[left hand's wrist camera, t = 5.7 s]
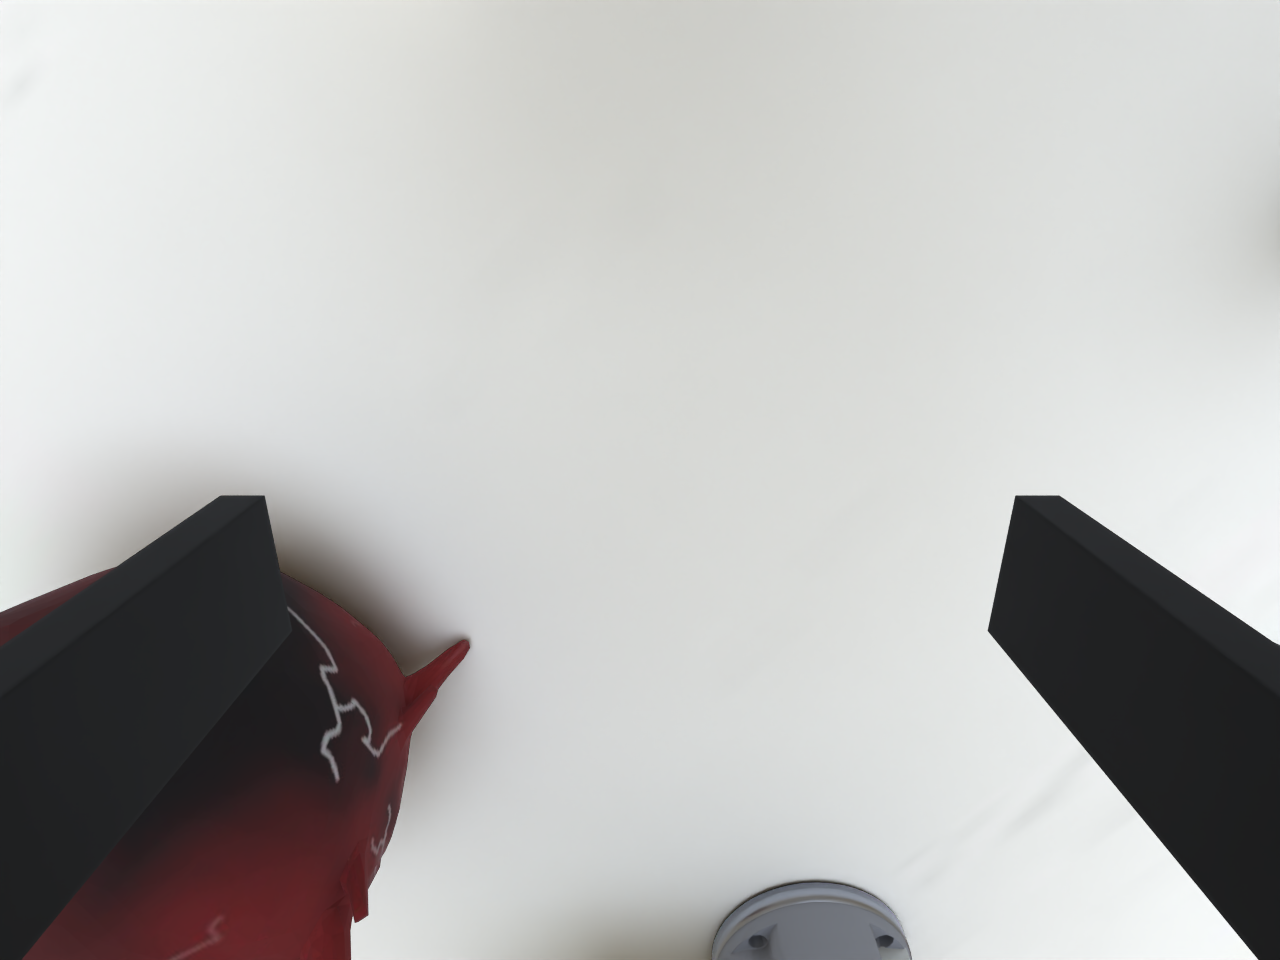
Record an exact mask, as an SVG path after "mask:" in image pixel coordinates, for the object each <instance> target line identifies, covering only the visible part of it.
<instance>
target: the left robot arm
mask: <svg viewBox="0 0 1280 960" xmlns="http://www.w3.org/2000/svg"><path fill="white" fill-rule="evenodd" d="M291 632H292V627H291V622H290V617H289V613H288V608H287V603H286V598H285V593H284V588H283V583H282V578H281V574H280V569H279V564H278V559H277V554H276V549H275V544H274V539H273V535H272V530H271V525H270V520H269V515H268V510H267V505H266V500H265V496H219V497H218V498H216V499H215V500H214V501H212V502H211V503H209V504H208V505H206V506H205V507H203V508H202V509H200V510H199V511H197V512H196V513H195V514H193V515H192V516H190V517H189V518H187V519H186V520H184V521H183V522H181V523H180V524H178V525H177V526H176V527H174V528H173V529H171V530H170V531H168V532H167V533H165V534H164V535H162V536H161V537H160V538H158V539H157V540H155V541H154V542H152V543H151V544H149V545H148V546H146V547H145V548H143V549H142V550H141V551H139V552H138V553H136V554H135V555H133V556H132V557H130V558H129V559H127V560H126V561H124V562H123V563H122V564H120V565H119V566H117V567H116V568H114V569H113V570H111V571H110V572H108V573H107V574H106V575H104V576H103V577H101V578H100V579H98V580H97V581H95V582H94V583H92V584H91V585H89V586H88V587H87V588H85V589H84V590H82V591H81V592H79V593H78V594H76V595H75V596H73V597H72V598H70V599H69V600H68V601H66V602H65V603H63V604H62V605H60V606H59V607H57V608H56V609H54V610H53V611H51V612H50V613H49V614H47V615H46V616H44V617H43V618H41V619H40V620H38V621H37V622H35V623H34V624H33V625H31V626H30V627H28V628H27V629H25V630H24V631H22V632H21V633H19V634H18V635H16V636H15V637H14V638H12V639H11V640H9V641H8V642H6V643H5V644H3V645H2V646H0V960H22V959H23V957H24V956H25V955H26V954H27V953H28V951H29V950H30V949H31V948H32V946H33V945H34V944H35V943H36V942H37V940H38V939H39V938H40V937H41V936H42V934H43V933H44V932H45V931H46V929H47V928H48V927H49V926H50V925H51V923H52V922H53V921H54V920H55V919H56V917H57V916H58V915H59V914H60V912H61V911H62V910H63V909H64V908H65V906H66V905H67V904H68V903H69V901H70V900H71V899H72V898H73V897H74V895H75V894H76V893H77V892H78V891H79V889H80V888H81V887H82V886H83V884H84V883H85V882H86V881H87V880H88V878H89V877H90V876H91V875H92V874H93V872H94V871H95V870H96V869H97V867H98V866H99V865H100V864H101V863H102V861H103V860H104V859H105V858H106V857H107V855H108V854H109V853H110V852H111V850H112V849H113V848H114V847H115V846H116V844H117V843H118V842H119V841H120V840H121V838H122V837H123V836H124V835H125V833H126V832H127V831H128V830H129V829H130V827H131V826H132V825H133V824H134V823H135V821H136V820H137V819H138V818H139V816H140V815H141V814H142V813H143V812H144V810H145V809H146V808H147V807H148V806H149V804H150V803H151V802H152V801H153V799H154V798H155V797H156V796H157V795H158V793H159V792H160V791H161V790H162V788H163V787H164V786H165V785H166V784H167V782H168V781H169V780H170V779H171V778H172V776H173V775H174V774H175V773H176V771H177V770H178V769H179V768H180V767H181V765H182V764H183V763H184V762H185V761H186V759H187V758H188V757H189V756H190V754H191V753H192V752H193V751H194V750H195V748H196V747H197V746H198V745H199V744H200V742H201V741H202V740H203V739H204V737H205V736H206V735H207V734H208V733H209V731H210V730H211V729H212V728H213V727H214V725H215V724H216V723H217V722H218V720H219V719H220V718H221V717H222V716H223V714H224V713H225V712H226V711H227V710H228V708H229V707H230V706H231V705H232V703H233V702H234V701H235V700H236V699H237V697H238V696H239V695H240V694H241V693H242V691H243V690H244V689H245V688H246V686H247V685H248V684H249V683H250V682H251V680H252V679H253V678H254V677H255V676H256V674H257V673H258V672H259V671H260V669H261V668H262V667H263V666H264V665H265V663H266V662H267V661H268V660H269V658H270V657H271V656H272V655H273V654H274V652H275V651H276V650H277V649H278V648H279V646H280V645H281V644H282V643H283V641H284V640H285V639H286V638H287V637H288V635H289V634H290V633H291ZM988 632H989V633H990V634H991V635H992V637H993V638H994V639H995V640H996V641H997V643H998V644H999V645H1000V646H1001V648H1002V649H1003V650H1004V651H1005V652H1006V654H1007V655H1008V656H1009V657H1010V658H1011V660H1012V661H1013V662H1014V663H1015V665H1016V666H1017V667H1018V668H1019V669H1020V671H1021V672H1022V673H1023V674H1024V676H1025V677H1026V678H1027V679H1028V680H1029V682H1030V683H1031V684H1032V685H1033V686H1034V688H1035V689H1036V690H1037V691H1038V693H1039V694H1040V695H1041V696H1042V697H1043V699H1044V700H1045V701H1046V702H1047V703H1048V705H1049V706H1050V707H1051V708H1052V710H1053V711H1054V712H1055V713H1056V714H1057V716H1058V717H1059V718H1060V719H1061V720H1062V722H1063V723H1064V724H1065V725H1066V727H1067V728H1068V729H1069V730H1070V731H1071V733H1072V734H1073V735H1074V736H1075V737H1076V739H1077V740H1078V741H1079V742H1080V744H1081V745H1082V746H1083V747H1084V748H1085V750H1086V751H1087V752H1088V753H1089V754H1090V756H1091V757H1092V758H1093V759H1094V761H1095V762H1096V763H1097V764H1098V765H1099V767H1100V768H1101V769H1102V770H1103V771H1104V773H1105V774H1106V775H1107V776H1108V778H1109V779H1110V780H1111V781H1112V782H1113V784H1114V785H1115V786H1116V787H1117V789H1118V790H1119V791H1120V792H1121V793H1122V795H1123V796H1124V797H1125V798H1126V799H1127V801H1128V802H1129V803H1130V804H1131V806H1132V807H1133V808H1134V809H1135V810H1136V812H1137V813H1138V814H1139V815H1140V816H1141V818H1142V819H1143V820H1144V821H1145V823H1146V824H1147V825H1148V826H1149V827H1150V829H1151V830H1152V831H1153V832H1154V833H1155V835H1156V836H1157V837H1158V838H1159V840H1160V841H1161V842H1162V843H1163V844H1164V846H1165V847H1166V848H1167V849H1168V850H1169V852H1170V853H1171V854H1172V855H1173V857H1174V858H1175V859H1176V860H1177V861H1178V863H1179V864H1180V865H1181V866H1182V867H1183V869H1184V870H1185V871H1186V872H1187V874H1188V875H1189V876H1190V877H1191V878H1192V880H1193V881H1194V882H1195V883H1196V884H1197V886H1198V887H1199V888H1200V889H1201V891H1202V892H1203V893H1204V894H1205V895H1206V897H1207V898H1208V899H1209V900H1210V901H1211V903H1212V904H1213V905H1214V906H1215V908H1216V909H1217V910H1218V911H1219V912H1220V914H1221V915H1222V916H1223V917H1224V919H1225V920H1226V921H1227V922H1228V923H1229V925H1230V926H1231V927H1232V928H1233V929H1234V931H1235V932H1236V933H1237V934H1238V936H1239V937H1240V938H1241V939H1242V940H1243V942H1244V943H1245V944H1246V945H1247V946H1248V948H1249V949H1250V950H1251V951H1252V953H1253V954H1254V955H1255V956H1256V957H1257V959H1258V960H1280V645H1278V644H1276V643H1274V642H1272V641H1271V640H1269V639H1268V638H1266V637H1265V636H1264V635H1262V634H1261V633H1259V632H1258V631H1256V630H1255V629H1253V628H1252V627H1250V626H1249V625H1247V624H1246V623H1245V622H1243V621H1242V620H1240V619H1239V618H1237V617H1236V616H1234V615H1233V614H1231V613H1230V612H1229V611H1227V610H1226V609H1224V608H1223V607H1221V606H1220V605H1218V604H1217V603H1215V602H1214V601H1212V600H1211V599H1210V598H1208V597H1207V596H1205V595H1204V594H1202V593H1201V592H1199V591H1198V590H1196V589H1195V588H1193V587H1192V586H1191V585H1189V584H1188V583H1186V582H1185V581H1183V580H1182V579H1180V578H1179V577H1177V576H1176V575H1174V574H1173V573H1172V572H1170V571H1169V570H1167V569H1166V568H1164V567H1163V566H1161V565H1160V564H1158V563H1157V562H1156V561H1154V560H1153V559H1151V558H1150V557H1148V556H1147V555H1145V554H1144V553H1142V552H1141V551H1139V550H1138V549H1137V548H1135V547H1134V546H1132V545H1131V544H1129V543H1128V542H1126V541H1125V540H1123V539H1122V538H1120V537H1119V536H1118V535H1116V534H1115V533H1113V532H1112V531H1110V530H1109V529H1107V528H1106V527H1104V526H1103V525H1102V524H1100V523H1099V522H1097V521H1096V520H1094V519H1093V518H1091V517H1090V516H1088V515H1087V514H1085V513H1084V512H1083V511H1081V510H1080V509H1078V508H1077V507H1075V506H1074V505H1072V504H1071V503H1069V502H1068V501H1066V500H1065V499H1064V498H1062V497H1061V496H1015V500H1014V505H1013V510H1012V515H1011V520H1010V525H1009V530H1008V535H1007V539H1006V544H1005V549H1004V554H1003V559H1002V564H1001V569H1000V574H999V578H998V583H997V588H996V593H995V598H994V603H993V608H992V613H991V617H990V622H989V627H988ZM712 960H912V957H911V952H910V949H909V945H908V943H907V940H906V937H905V935H904V932H903V929H902V926H901V924H900V922H899V920H898V919H897V917H896V916H895V914H894V913H893V912H892V911H891V910H890V908H888V907H887V906H886V905H885V904H884V903H883V902H881V901H880V900H879V899H877V898H875V897H874V896H872V895H870V894H868V893H866V892H864V891H861V890H858V889H856V888H852V887H849V886H845V885H839V884H833V883H818V882H815V883H800V884H793V885H788V886H783V887H780V888H776V889H773V890H770V891H767V892H765V893H762V894H760V895H758V896H756V897H754V898H752V899H750V900H749V901H747V902H746V903H744V904H743V905H741V906H740V907H739V908H737V909H736V910H735V911H734V912H733V913H732V914H731V915H730V916H729V917H728V918H727V919H726V920H725V921H724V923H723V924H722V926H721V927H720V929H719V931H718V932H717V935H716V937H715V939H714V943H713V948H712Z"/></svg>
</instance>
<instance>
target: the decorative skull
mask: <svg viewBox="0 0 1280 960" xmlns="http://www.w3.org/2000/svg"><path fill="white" fill-rule="evenodd" d="M115 568H116V567H115ZM113 569H114V568H111V569H108V570H105V571H102V572H99V573H96V574H93V575H91V576H88V577H86V578H83V579H81V580H78V581H76V582H73V583H71V584H68V585H66V586H63V587H61V588H58V589H56V590H54V591H51V592H49V593H46V594H44V595H41V596H39V597H36V598H34V599H31V600H29V601H26V602H24V603H22V604H19V605H17V606H14V607H12V608H10V609H7V610H5V611H3V612H0V646H2V645H3V644H5V643H6V642H8V641H9V640H11V639H12V638H14V637H15V636H16V635H18V634H19V633H21V632H22V631H24V630H25V629H27V628H28V627H30V626H31V625H33V624H34V623H35V622H37V621H38V620H40V619H41V618H43V617H44V616H46V615H47V614H49V613H50V612H51V611H53V610H54V609H56V608H57V607H59V606H60V605H62V604H63V603H65V602H66V601H68V600H69V599H70V598H72V597H73V596H75V595H76V594H78V593H79V592H81V591H82V590H84V589H85V588H87V587H88V586H89V585H91V584H92V583H94V582H95V581H97V580H98V579H100V578H101V577H103V576H104V575H106V574H107V573H108V572H110V571H111V570H113ZM280 574H281V578H282V583H283V588H284V593H285V598H286V603H287V608H288V613H289V617H290V622H291V627H292V632H291V633H290V634H289V635H288V637H287V638H286V639H285V640H284V641H283V643H282V644H281V645H280V646H279V648H278V649H277V650H276V651H275V652H274V654H273V655H272V656H271V657H270V658H269V660H268V661H267V662H266V663H265V665H264V666H263V667H262V668H261V669H260V671H259V672H258V673H257V674H256V676H255V677H254V678H253V679H252V680H251V682H250V683H249V684H248V685H247V686H246V688H245V689H244V690H243V691H242V693H241V694H240V695H239V696H238V697H237V699H236V700H235V701H234V702H233V703H232V705H231V706H230V707H229V708H228V710H227V711H226V712H225V713H224V714H223V716H222V717H221V718H220V719H219V720H218V722H217V723H216V724H215V725H214V727H213V728H212V729H211V730H210V731H209V733H208V734H207V735H206V736H205V737H204V739H203V740H202V741H201V742H200V744H199V745H198V746H197V747H196V748H195V750H194V751H193V752H192V753H191V754H190V756H189V757H188V758H187V759H186V761H185V762H184V763H183V764H182V765H181V767H180V768H179V769H178V770H177V771H176V773H175V774H174V775H173V776H172V778H171V779H170V780H169V781H168V782H167V784H166V785H165V786H164V787H163V788H162V790H161V791H160V792H159V793H158V795H157V796H156V797H155V798H154V799H153V801H152V802H151V803H150V804H149V806H148V807H147V808H146V809H145V810H144V812H143V813H142V814H141V815H140V816H139V818H138V819H137V820H136V821H135V823H134V824H133V825H132V826H131V827H130V829H129V830H128V831H127V832H126V833H125V835H124V836H123V837H122V838H121V840H120V841H119V842H118V843H117V844H116V846H115V847H114V848H113V849H112V850H111V852H110V853H109V854H108V855H107V857H106V858H105V859H104V860H103V861H102V863H101V864H100V865H99V866H98V867H97V869H96V870H95V871H94V872H93V874H92V875H91V876H90V877H89V878H88V880H87V881H86V882H85V883H84V884H83V886H82V887H81V888H80V889H79V891H78V892H77V893H76V894H75V895H74V897H73V898H72V899H71V900H70V901H69V903H68V904H67V905H66V906H65V908H64V909H63V910H62V911H61V912H60V914H59V915H58V916H57V917H56V919H55V920H54V921H53V922H52V923H51V925H50V926H49V927H48V928H47V929H46V931H45V932H44V933H43V934H42V936H41V937H40V938H39V939H38V940H37V942H36V943H35V944H34V945H33V946H32V948H31V949H30V950H29V951H28V953H27V954H26V955H25V956H24V957H23V959H22V960H351V937H350V929H351V922H352V917H354V921H355V923H356V922H359V921H360V920H362V919H363V918H365V917H366V916H368V888H369V886H370V885H371V883H372V881H373V879H374V877H375V875H376V873H377V871H378V869H379V868H380V862H381V857H382V855H383V854H384V852H385V850H386V848H387V846H388V844H389V842H390V839H391V837H392V833H393V830H394V827H395V824H396V820H397V816H398V812H399V809H400V803H401V797H402V791H403V786H404V780H405V775H406V770H407V762H408V754H409V745H410V739H411V735H412V731H413V730H414V728H415V727H416V725H417V724H418V722H419V721H420V720H421V718H422V717H423V715H424V714H425V712H426V711H427V709H428V708H429V706H430V705H431V703H432V702H433V701H434V699H435V698H436V695H437V691H438V689H439V687H440V686H441V685H442V683H443V682H444V681H445V680H446V678H447V677H448V676H449V675H450V673H451V672H452V671H453V670H454V669H455V668H456V667H457V666H458V664H459V663H460V662H461V661H462V660H463V659H464V657H465V655H466V654H467V652H468V650H469V648H470V645H469V642H468V641H466V640H462V641H460V642H459V643H457V644H455V645H454V646H452V647H451V648H449V649H447V650H446V651H445V652H444V653H442V654H441V655H440V656H438V657H437V658H436V659H435V660H433V661H432V662H431V663H429V664H428V665H427V666H425V667H424V668H422V669H420V670H419V671H417V672H416V673H414V674H412V675H410V676H407V677H405V676H404V675H403V674H402V673H401V671H400V669H399V667H398V666H397V664H396V662H395V660H394V659H393V657H392V655H391V654H390V652H389V651H388V650H387V649H386V647H385V646H384V645H383V643H382V642H381V641H380V640H379V639H378V638H377V637H376V636H375V635H374V634H373V633H372V632H371V631H370V630H368V629H367V628H366V627H365V626H364V625H362V624H361V623H360V622H359V621H358V620H356V619H355V618H354V617H353V616H351V615H350V614H349V613H348V612H347V611H345V610H344V609H343V608H342V607H340V606H339V605H337V604H336V603H334V602H333V601H331V600H330V599H328V598H327V597H325V596H324V595H322V594H320V593H319V592H317V591H315V590H313V589H312V588H310V587H308V586H306V585H304V584H302V583H301V582H299V581H297V580H295V579H293V578H291V577H290V576H288V575H286V574H284V573H282V572H280Z"/></svg>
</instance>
